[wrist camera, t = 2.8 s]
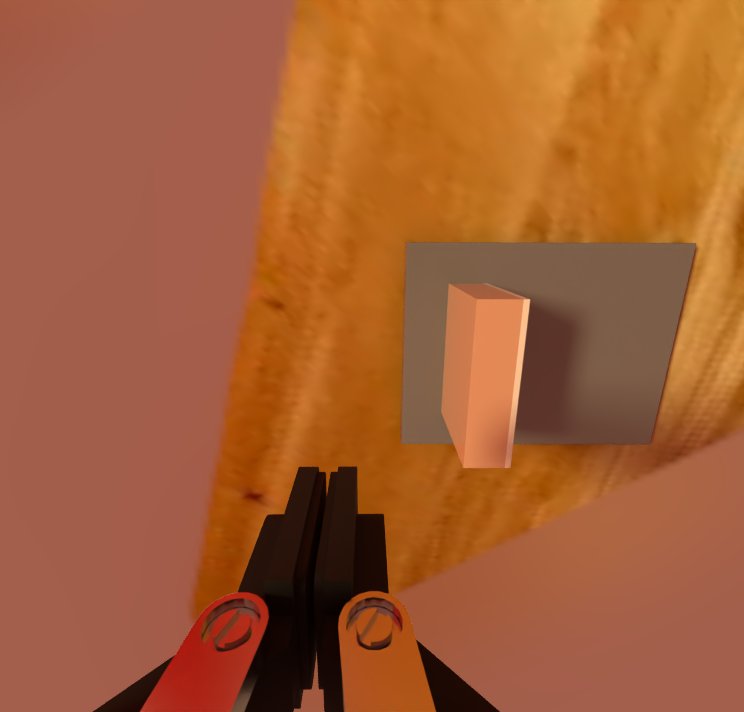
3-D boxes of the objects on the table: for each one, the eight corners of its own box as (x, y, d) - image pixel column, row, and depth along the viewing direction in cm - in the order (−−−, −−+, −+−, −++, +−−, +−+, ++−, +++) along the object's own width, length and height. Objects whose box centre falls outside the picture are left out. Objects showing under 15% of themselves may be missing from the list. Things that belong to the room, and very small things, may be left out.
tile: (487, 283, 25) (530, 299, 18) (476, 412, 27) (510, 468, 21) (448, 283, 25) (476, 299, 18) (441, 412, 27) (463, 467, 21)
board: (684, 243, 25) (696, 243, 24) (640, 437, 29) (649, 444, 28) (405, 242, 25) (406, 242, 24) (400, 436, 29) (401, 443, 28)
